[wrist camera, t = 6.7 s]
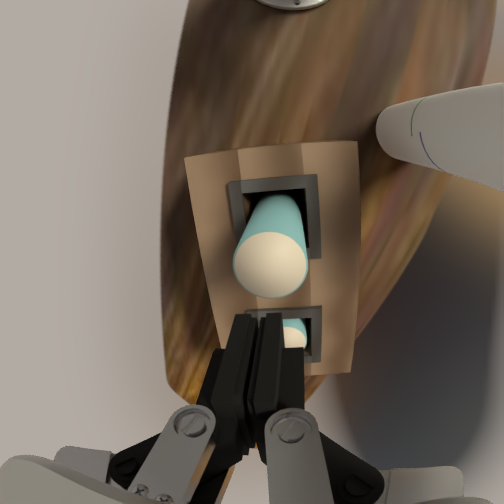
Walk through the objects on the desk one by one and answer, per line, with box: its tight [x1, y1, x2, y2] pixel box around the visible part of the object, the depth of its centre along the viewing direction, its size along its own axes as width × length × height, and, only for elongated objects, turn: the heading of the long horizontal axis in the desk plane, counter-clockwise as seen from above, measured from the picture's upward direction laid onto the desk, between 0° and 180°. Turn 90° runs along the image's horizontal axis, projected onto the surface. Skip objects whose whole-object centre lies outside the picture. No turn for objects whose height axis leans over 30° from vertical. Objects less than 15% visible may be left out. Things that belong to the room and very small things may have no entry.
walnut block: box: [184, 140, 361, 376], centre depth 31 cm, size 14×24×12 cm, turn 7°
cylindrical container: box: [376, 82, 504, 192], centre depth 18 cm, size 7×7×25 cm
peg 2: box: [283, 318, 307, 348], centre depth 32 cm, size 4×4×12 cm
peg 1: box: [233, 190, 308, 299], centre depth 21 cm, size 4×4×12 cm
